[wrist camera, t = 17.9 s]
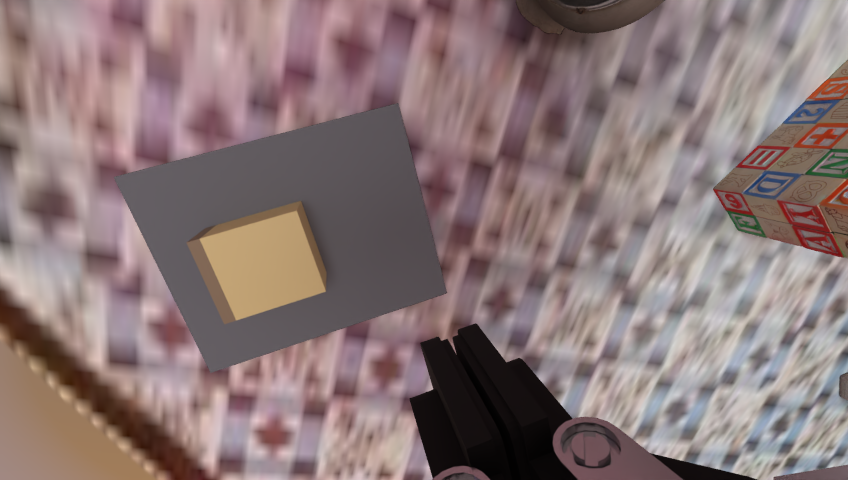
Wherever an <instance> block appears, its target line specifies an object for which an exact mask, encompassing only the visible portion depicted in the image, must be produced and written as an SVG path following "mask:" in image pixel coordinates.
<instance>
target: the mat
mask: <svg viewBox="0 0 848 480" xmlns="http://www.w3.org/2000/svg"><path fill="white" fill-rule="evenodd" d="M114 179H115V181H116V183H117V185H118V187H119V189H120V191H121V193H122V195H123V197H124V199H125V201H126V203H127V205H128V207H129V209H130V211H131V213H132V215H133V217H134V219H135V221H136V223H137V225H138V227H139V229H140V231H141V233H142V235H143V237H144V239H145V241H146V243H147V245H148V247H149V249H150V251H151V253H152V255H153V257H154V259H155V261H156V263H157V265H158V267H159V269H160V271H161V274H162V276H163V278H164V280H165V282H166V284H167V286H168V288H169V290H170V292H171V294H172V296H173V298H174V300H175V302H176V304H177V306H178V308H179V310H180V312H181V314H182V316H183V318H184V320H185V322H186V324H187V326H188V328H189V330H190V332H191V334H192V336H193V338H194V340H195V342H196V344H197V346H198V348H199V350H200V352H201V354H202V356H203V358H204V360H205V362H206V364H207V366H208V368H209V370H210V372H214V371H217V370H220V369H223V368H226V367H229V366H232V365H235V364H238V363H241V362H244V361H247V360H250V359H253V358H256V357H259V356H262V355H265V354H268V353H271V352H274V351H277V350H280V349H283V348H286V347H289V346H292V345H295V344H298V343H301V342H304V341H307V340H309V339H312V338H315V337H318V336H321V335H324V334H327V333H330V332H333V331H336V330H339V329H342V328H345V327H348V326H351V325H354V324H357V323H360V322H363V321H366V320H369V319H372V318H375V317H378V316H381V315H384V314H387V313H390V312H393V311H396V310H399V309H402V308H405V307H408V306H411V305H413V304H416V303H419V302H422V301H425V300H428V299H431V298H434V297H437V296H440V295H443V294H446V293H447V291H446V287H445V283H444V279H443V275H442V271H441V268H440V264H439V260H438V256H437V252H436V248H435V244H434V240H433V236H432V232H431V229H430V225H429V221H428V217H427V213H426V209H425V205H424V201H423V197H422V194H421V190H420V186H419V182H418V178H417V174H416V170H415V166H414V162H413V159H412V155H411V151H410V147H409V143H408V139H407V135H406V131H405V127H404V123H403V120H402V116H401V112H400V108H399V104H398V103H397V104H393V105H389V106H385V107H381V108H377V109H373V110H370V111H366V112H362V113H358V114H354V115H350V116H347V117H343V118H339V119H335V120H331V121H327V122H324V123H320V124H316V125H312V126H308V127H304V128H301V129H297V130H293V131H289V132H285V133H281V134H277V135H274V136H270V137H266V138H262V139H258V140H254V141H251V142H247V143H243V144H239V145H235V146H231V147H228V148H224V149H220V150H216V151H212V152H208V153H204V154H201V155H197V156H193V157H189V158H185V159H181V160H178V161H174V162H170V163H166V164H162V165H158V166H155V167H151V168H147V169H143V170H139V171H135V172H132V173H128V174H124V175H120V176H116V177H114ZM298 201H301V202H302V205H303V208H304V211H305V214H306V216H307V219H308V222H309V225H310V228H311V230H312V233H313V236H314V239H315V242H316V244H317V247H318V250H319V253H320V256H321V258H322V261H323V264H324V267H325V270H326V272H327V275H326V292H323V293H320V294H317V295H314V296H311V297H308V298H305V299H302V300H298V301H295V302H292V303H289V304H286V305H283V306H280V307H277V308H274V309H271V310H267V311H264V312H261V313H258V314H255V315H252V316H249V317H246V318H243V319H240V320H236V321H233V322H230V323H227V324H224V323H223V321H222V318H221V316H220V314H219V312H218V310H217V308H216V305H215V303H214V301H213V299H212V297H211V295H210V292H209V290H208V288H207V286H206V284H205V282H204V280H203V277H202V275H201V273H200V271H199V269H198V267H197V264H196V262H195V260H194V258H193V256H192V254H191V251H190V249H189V247H188V245H187V243H186V242H188V241H189V240H190V239H192V238H193V237H194V236H196V235H197V234H198V233H200V232H201V231H202V230H204V229H205V228H208V227H211V226H215V225H218V224H222V223H225V222H229V221H232V220H236V219H239V218H243V217H246V216H250V215H253V214H256V213H260V212H263V211H267V210H270V209H274V208H277V207H281V206H284V205H288V204H291V203H295V202H298Z"/></svg>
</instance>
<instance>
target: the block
mask: <svg viewBox="0 0 848 480" xmlns="http://www.w3.org/2000/svg"><path fill="white" fill-rule="evenodd" d="M186 243H187V245H188V247H189V249H190V251H191V254H192V256H193V258H194V260H195V262H196V264H197V267H198V269H199V271H200V273H201V275H202V277H203V280H204V282H205V284H206V286H207V288H208V290H209V292H210V295H211V297H212V299H213V301H214V303H215V305H216V308H217V310H218V312H219V314H220V316H221V318H222V321H223V323H224V324H227V323H230V322H233V321H236V320H240V319H243V318H246V317H249V316H252V315H255V314H258V313H261V312H264V311H267V310H271V309H274V308H277V307H280V306H283V305H286V304H289V303H292V302H295V301H298V300H302V299H305V298H308V297H311V296H314V295H317V294H320V293H323V292H326V275H327V272H326V270H325V267H324V264H323V261H322V258H321V256H320V253H319V250H318V247H317V244H316V242H315V239H314V236H313V233H312V230H311V228H310V225H309V222H308V219H307V216H306V214H305V211H304V208H303V205H302V202H301V201H298V202H295V203H291V204H288V205H284V206H281V207H277V208H274V209H270V210H267V211H263V212H260V213H256V214H253V215H250V216H246V217H243V218H239V219H236V220H232V221H229V222H225V223H222V224H218V225H215V226H211V227H208V228H205V229H204V230H202V231H201V232H200V233H198V234H197V235H196V236H194V237H193V238H192V239H190V240H189V241H188V242H186Z"/></svg>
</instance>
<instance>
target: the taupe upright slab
mask: <svg viewBox="0 0 848 480" xmlns="http://www.w3.org/2000/svg"><path fill="white" fill-rule="evenodd" d="M840 396H841V397H843V398H844V399H846V400H848V373H846V374H843V375H841V377H840Z"/></svg>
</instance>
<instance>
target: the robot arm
mask: <svg viewBox="0 0 848 480" xmlns="http://www.w3.org/2000/svg"><path fill="white" fill-rule="evenodd" d="M453 343H454V346H455V350H456V353H455V351H454V350H453V348H452V346H451V344H450V342H449V341H448V339H446V340H443V341H441V340H440V338H439V337H436V338H433V339H430V340H427V341H424V342H421V343H420V344H421V348H422V352H423V355H424V358H425V362H426V365H427V369H428V372H429V375H430V379H431V382H432V386H433V389H434V390H431V391H429V392H426V393H423V394H421V395H418V396H415V397H413V398H410V402H411V406H412V409H413V413H414V416H415V419H416V423H417V426H418V429H419V433H420V436H421V440H422V443H423V446H424V450H425V453H426V457H427V460H428V463H429V467H430V470H431V473H432V477H433V480H757V479H754V478H751V477H747V476H743V475H739V474H735V473H731V472H726V471H722V470H718V469H714V468H710V467H705V466H701V465H697V464H693V463H689V462H684V461H680V460H676V459H672V458H667V457H663V456H659V455H655V454H651V453H649V452H648V451H646V450H645V449H644V448H643V447H641V446H640V445H639V444H638V443H636V442H635V441H634V440H633V439H631V438H630V437H629V436H627V435H626V434H625V433H624V432H622V431H621V430H620V429H619V428H617V427H616V426H614V425H613V424H611V423H609V422H608V421H605V420H602V419H599V418H593V417H579V418H574V419H572V418H571V416H570V415H569V414H568V413H567V412H566V410H565V409H564V408H563V407H562V406H561V405H560V403H559V402H558V401H557V400H556V399H555V397H554V396H553V395H552V394H551V393H550V392H549V390H548V389H547V388H546V387H545V386H544V384H543V383H542V382H541V381H540V380H539V379H538V377H537V376H536V375H535V374H534V373H533V371H532V370H531V369H530V368H529V367H528V365H527V364H526V363H525V362H524V361H523V360H522V359H520V358H518V359H515V360H512V361H510V362H507V363H506V361H505V360H504V359H503V358H502V356H501V355H500V354H499V352H498V351H497V350H496V348H495V347H494V346H493V344H492V343H491V342H490V340H489V339H488V338H487V337H486V335H485V334H484V333H483V331H482V330H481V329H480V327H479V326H478V325H477V324H473V325H470V326H467V327H464V328H461V329H458V335H457V336H454V337H453ZM456 354H457V355H456ZM774 480H848V465H843V466H837V467H831V468H825V469H819V470H813V471H807V472H801V473H795V474H789V475H783V476H777V477H774Z"/></svg>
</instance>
